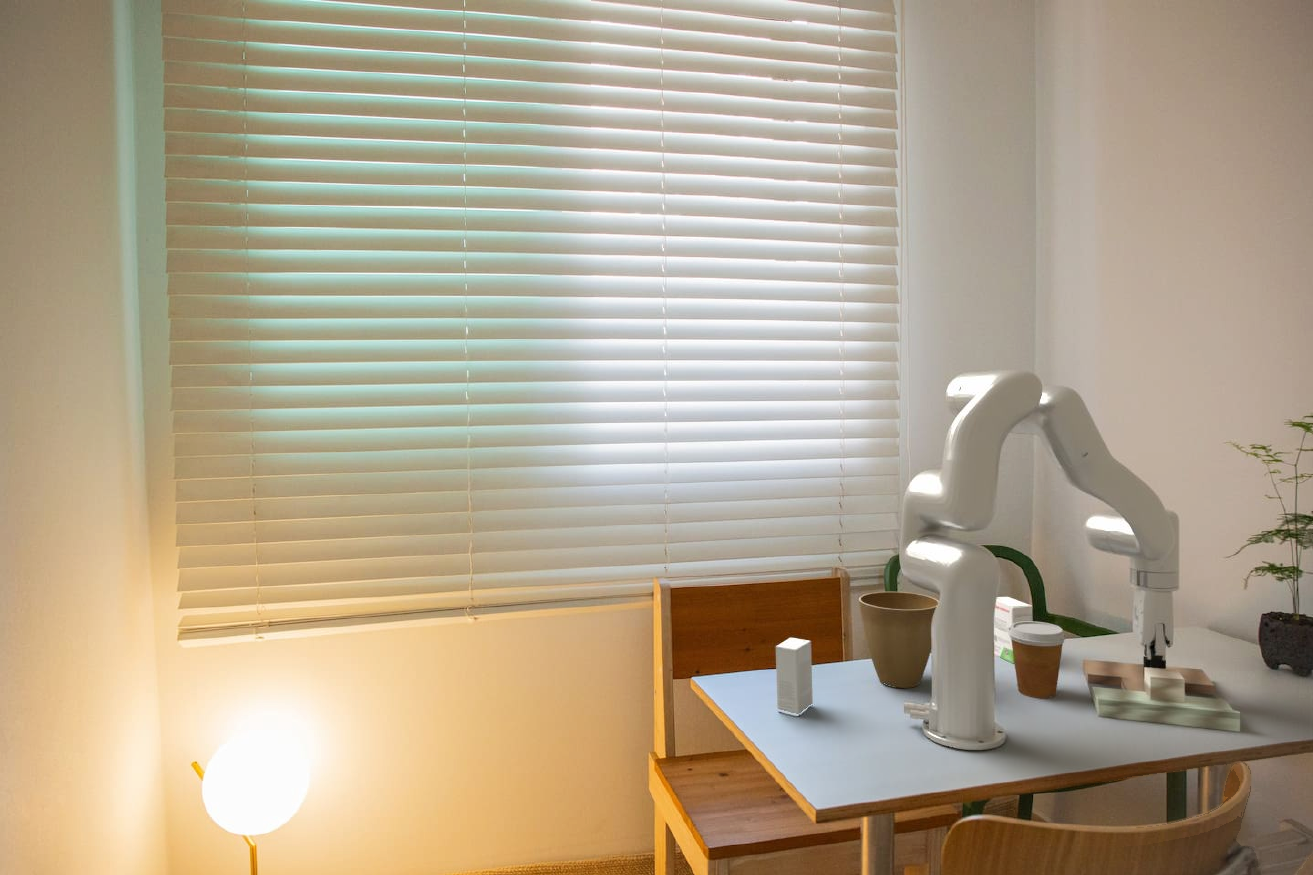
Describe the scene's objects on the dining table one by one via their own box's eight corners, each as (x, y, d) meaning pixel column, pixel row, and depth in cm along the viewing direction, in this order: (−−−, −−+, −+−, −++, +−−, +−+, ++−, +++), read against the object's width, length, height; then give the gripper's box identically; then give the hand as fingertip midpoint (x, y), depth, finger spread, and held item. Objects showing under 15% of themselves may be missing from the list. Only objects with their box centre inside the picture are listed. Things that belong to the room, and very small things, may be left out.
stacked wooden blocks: (1098, 716, 137) (1098, 698, 137) (1082, 669, 160) (1082, 654, 160) (1240, 731, 130) (1240, 713, 130) (1202, 679, 153) (1202, 664, 153)
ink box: (1034, 662, 165) (1034, 605, 165) (1012, 664, 164) (1012, 606, 164) (1008, 649, 174) (1008, 595, 173) (987, 651, 173) (987, 597, 172)
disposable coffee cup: (997, 687, 152) (996, 623, 152) (1038, 680, 155) (1037, 618, 154) (1035, 704, 143) (1035, 637, 142) (1078, 697, 146) (1078, 631, 145)
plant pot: (942, 698, 147) (941, 611, 146) (857, 691, 152) (856, 607, 151) (940, 671, 161) (939, 592, 160) (862, 666, 166) (861, 588, 165)
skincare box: (791, 701, 148) (790, 636, 147) (813, 706, 145) (812, 640, 145) (776, 712, 143) (774, 645, 142) (798, 717, 140) (797, 649, 140)
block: (1150, 699, 139) (1150, 676, 139) (1144, 689, 143) (1144, 667, 143) (1184, 702, 137) (1184, 679, 137) (1177, 692, 142) (1177, 669, 141)
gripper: (1123, 568, 152) (1123, 665, 153) (1137, 587, 138) (1137, 693, 139) (1169, 570, 149) (1170, 668, 150) (1188, 589, 135) (1189, 697, 136)
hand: (1154, 680), depth 145 cm, fingers closed
